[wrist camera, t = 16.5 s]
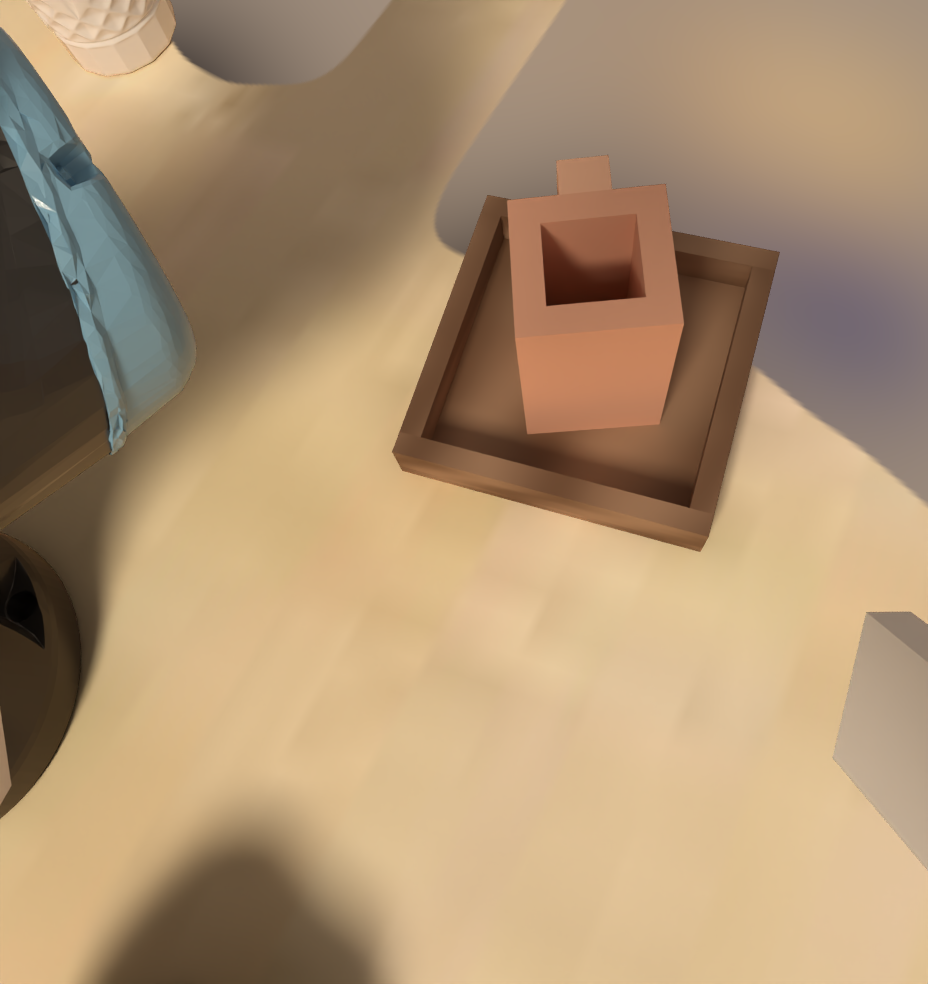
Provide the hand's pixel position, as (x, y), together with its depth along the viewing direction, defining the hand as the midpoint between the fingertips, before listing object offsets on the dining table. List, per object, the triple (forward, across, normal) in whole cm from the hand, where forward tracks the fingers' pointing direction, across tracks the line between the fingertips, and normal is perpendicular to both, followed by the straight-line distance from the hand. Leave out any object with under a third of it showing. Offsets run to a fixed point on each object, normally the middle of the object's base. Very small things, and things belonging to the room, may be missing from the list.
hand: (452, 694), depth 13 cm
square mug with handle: (+27, +9, 0) cm, 29 cm away
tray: (+28, +10, -1) cm, 30 cm away
